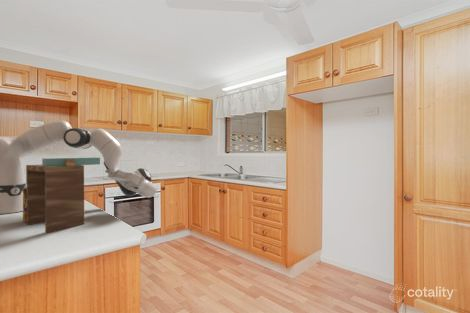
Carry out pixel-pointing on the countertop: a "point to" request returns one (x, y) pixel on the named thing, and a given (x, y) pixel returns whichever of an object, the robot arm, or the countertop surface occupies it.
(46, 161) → the teal block
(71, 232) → the countertop surface
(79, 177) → the wooden cabinet unit
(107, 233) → the countertop surface
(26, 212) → the candy box
